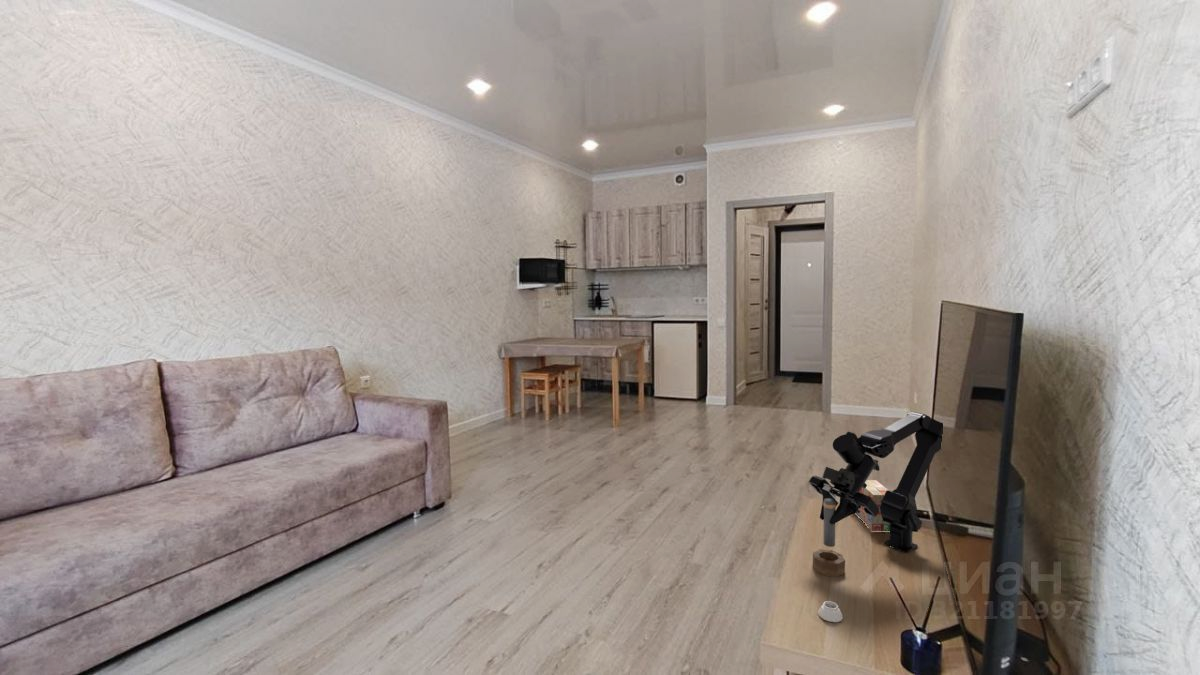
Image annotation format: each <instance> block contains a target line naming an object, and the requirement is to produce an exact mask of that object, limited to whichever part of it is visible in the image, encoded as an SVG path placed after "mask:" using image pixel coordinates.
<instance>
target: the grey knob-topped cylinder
mask: <svg viewBox="0 0 1200 675" xmlns="http://www.w3.org/2000/svg"><path fill="white" fill-rule="evenodd" d="M835 500H836V499H835ZM835 500H834V499H830V498H826V499H824V502H823V501H822V503H823V506H824V520H823V545H824V546H826V547H829V548H831V547H835V546H836V523H835V524H833V525H832V524H830V523H829V521H830V519H831V517H832V515H833V514H834V512H835V511H836V509H837V506H836V503H835Z"/></svg>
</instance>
